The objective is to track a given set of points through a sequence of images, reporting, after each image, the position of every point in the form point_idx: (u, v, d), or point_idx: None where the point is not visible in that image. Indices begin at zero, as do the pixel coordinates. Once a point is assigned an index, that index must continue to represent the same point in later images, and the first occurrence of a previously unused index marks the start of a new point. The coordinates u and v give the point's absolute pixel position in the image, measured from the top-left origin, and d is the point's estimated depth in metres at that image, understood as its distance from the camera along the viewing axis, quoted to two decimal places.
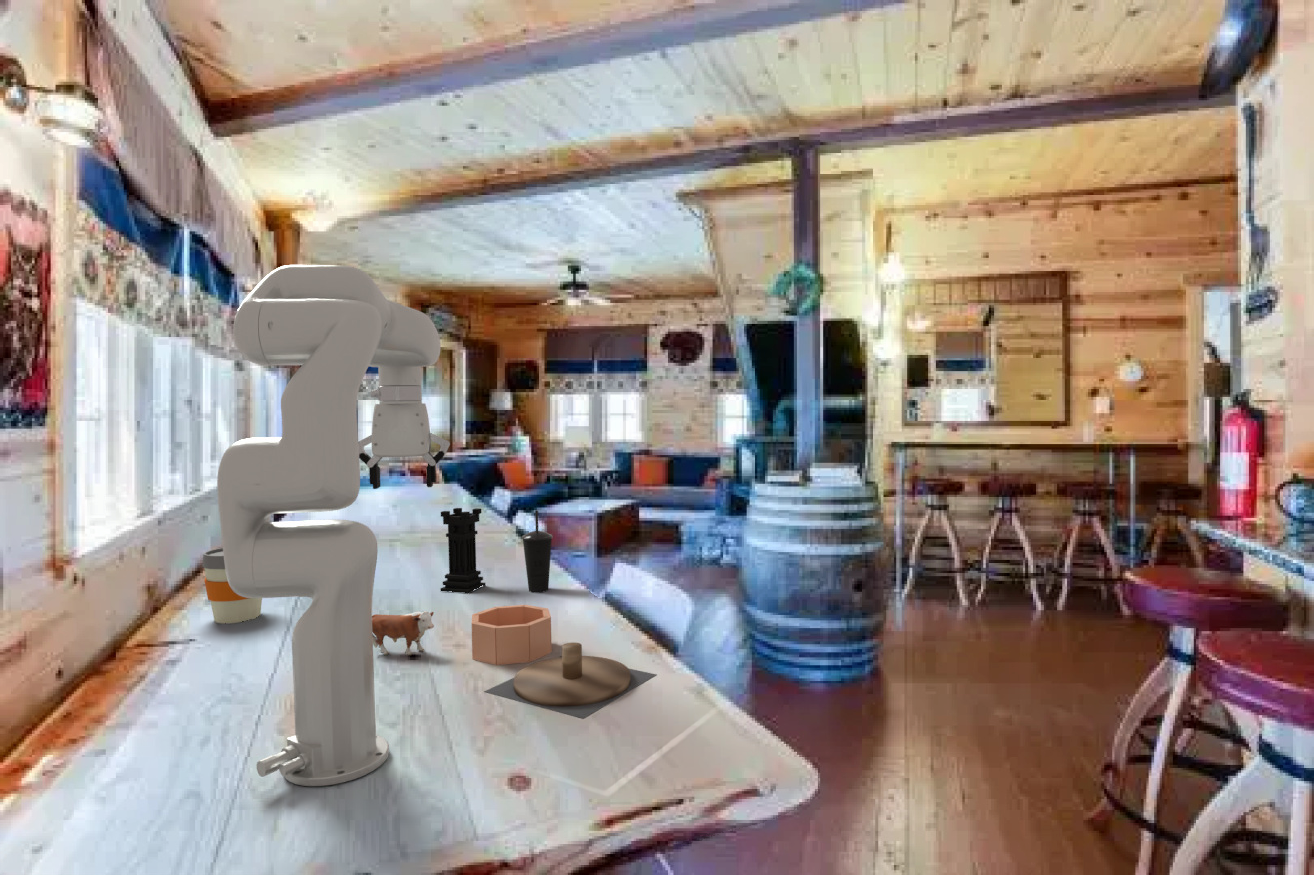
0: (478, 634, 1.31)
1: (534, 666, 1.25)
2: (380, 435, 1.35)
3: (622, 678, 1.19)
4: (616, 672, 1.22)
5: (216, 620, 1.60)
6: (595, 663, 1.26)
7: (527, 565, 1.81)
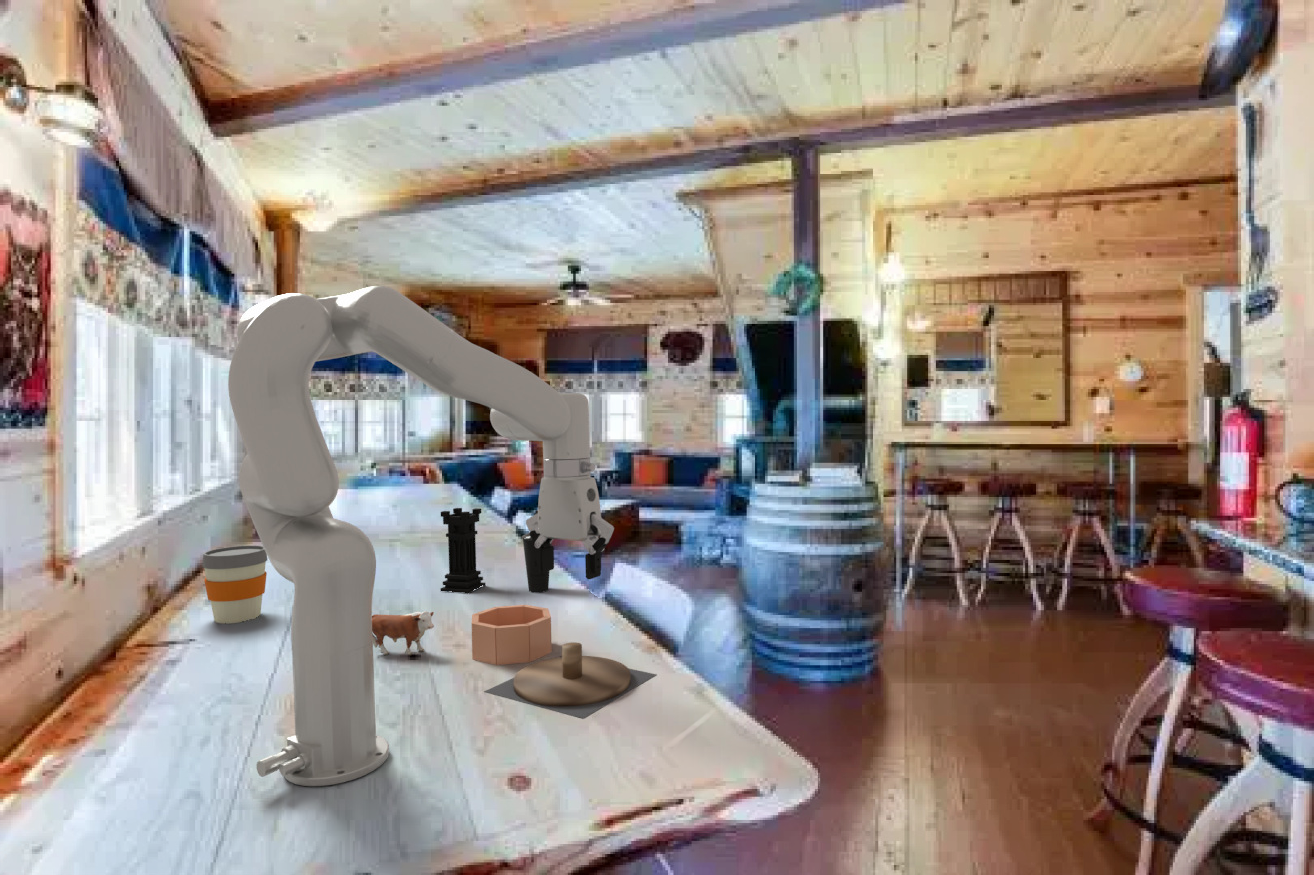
0: (478, 634, 1.31)
1: (534, 666, 1.25)
2: None
3: (622, 678, 1.19)
4: (616, 672, 1.22)
5: (216, 620, 1.60)
6: (595, 663, 1.26)
7: (527, 565, 1.81)
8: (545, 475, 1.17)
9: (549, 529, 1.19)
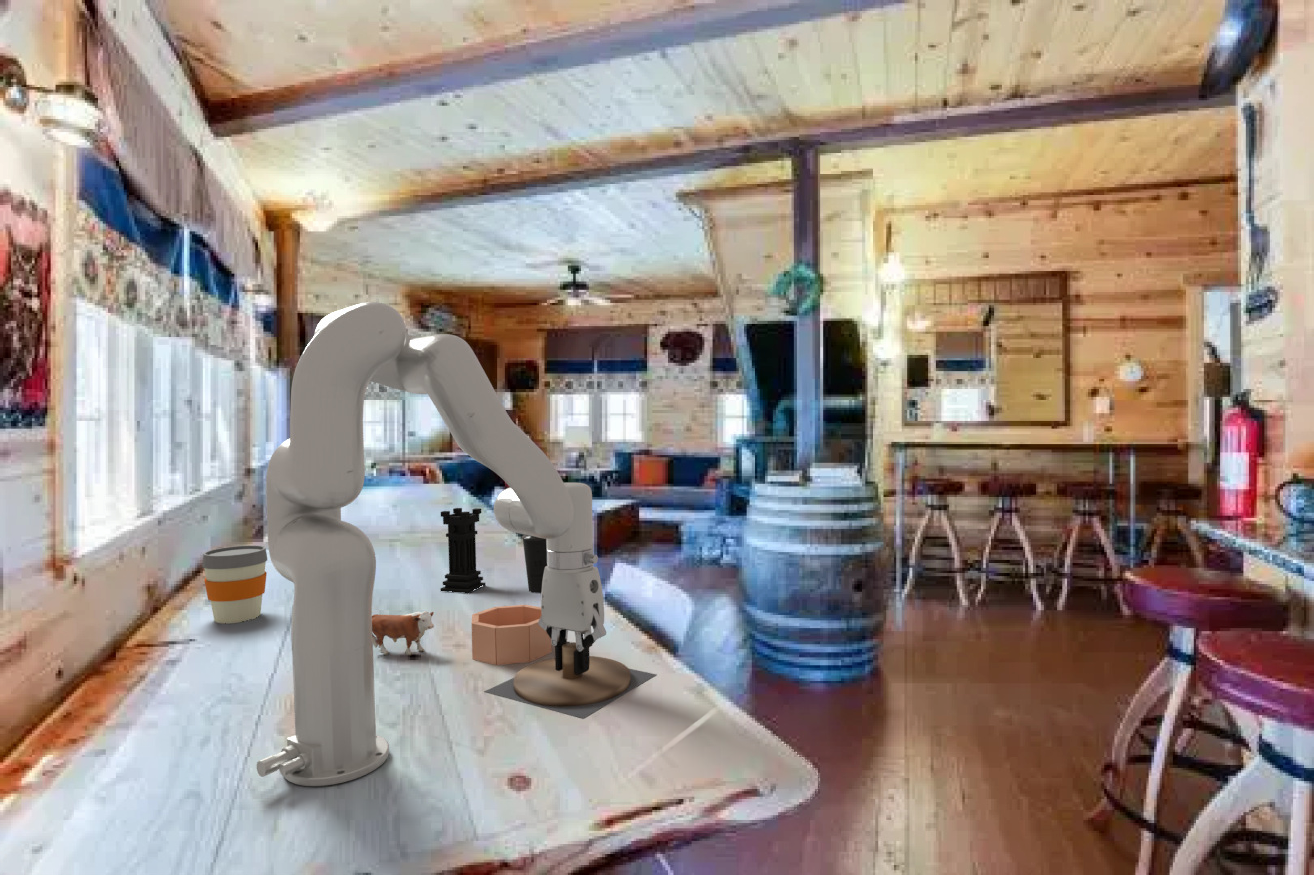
0: (478, 634, 1.31)
1: (534, 666, 1.25)
2: None
3: (622, 678, 1.19)
4: (616, 672, 1.22)
5: (216, 620, 1.60)
6: (595, 663, 1.26)
7: (527, 565, 1.81)
8: (548, 566, 1.18)
9: (551, 618, 1.19)
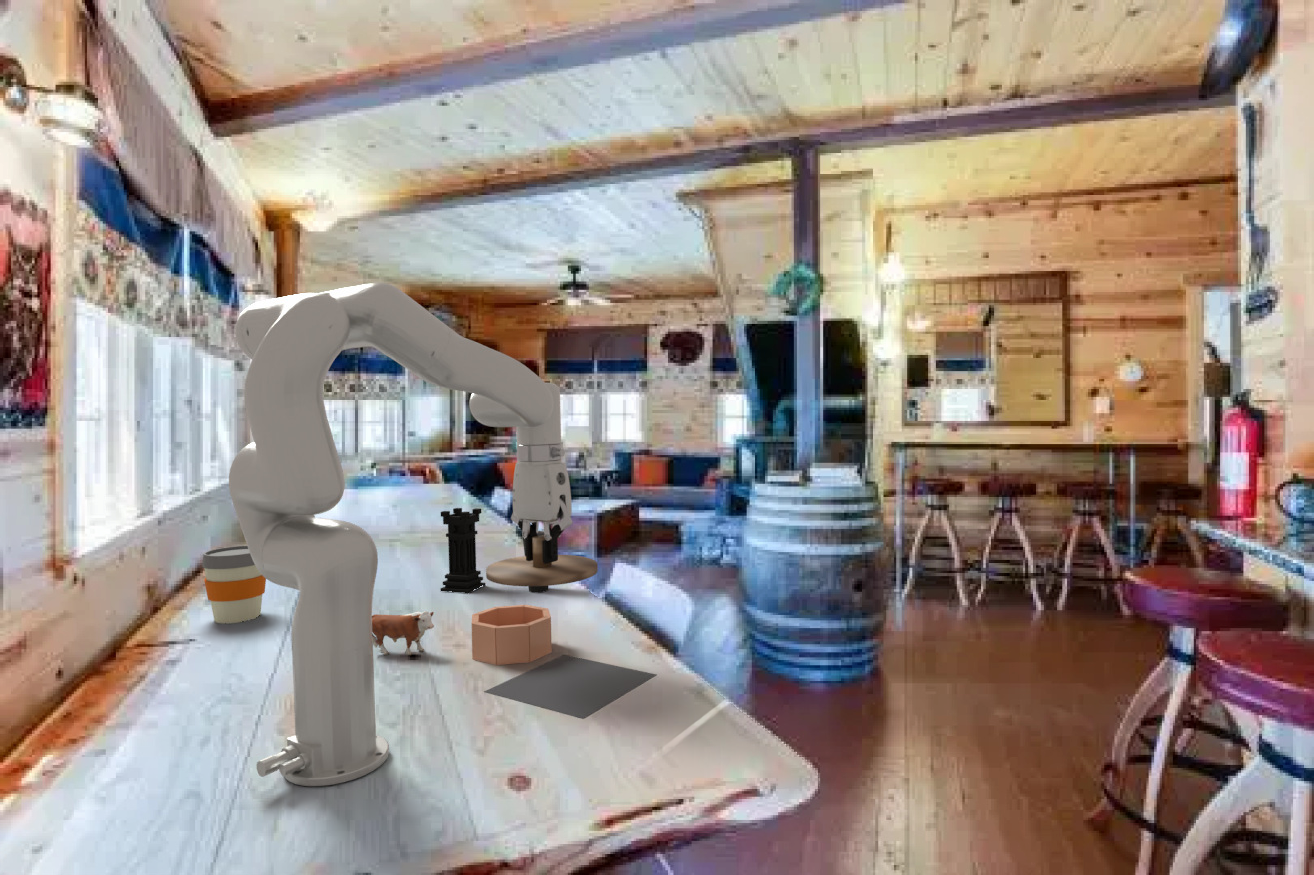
0: (478, 634, 1.31)
1: (508, 560, 1.32)
2: None
3: (589, 567, 1.25)
4: (584, 564, 1.28)
5: (216, 620, 1.60)
6: (566, 559, 1.32)
7: None
8: (518, 460, 1.25)
9: (522, 510, 1.26)
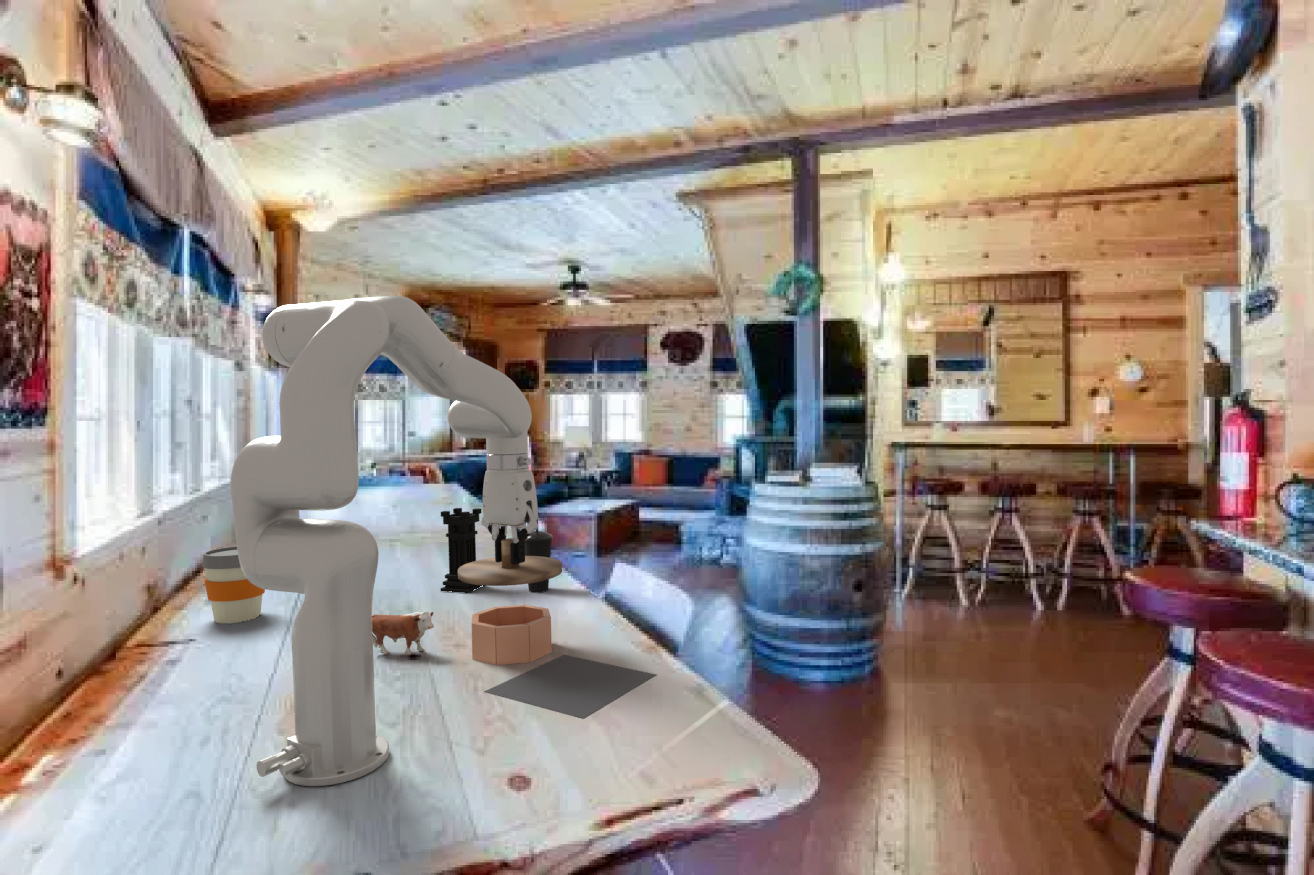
0: (478, 634, 1.31)
1: (478, 561, 1.41)
2: None
3: (554, 567, 1.35)
4: (550, 564, 1.38)
5: (216, 620, 1.60)
6: (533, 560, 1.42)
7: None
8: (487, 468, 1.34)
9: (491, 515, 1.35)
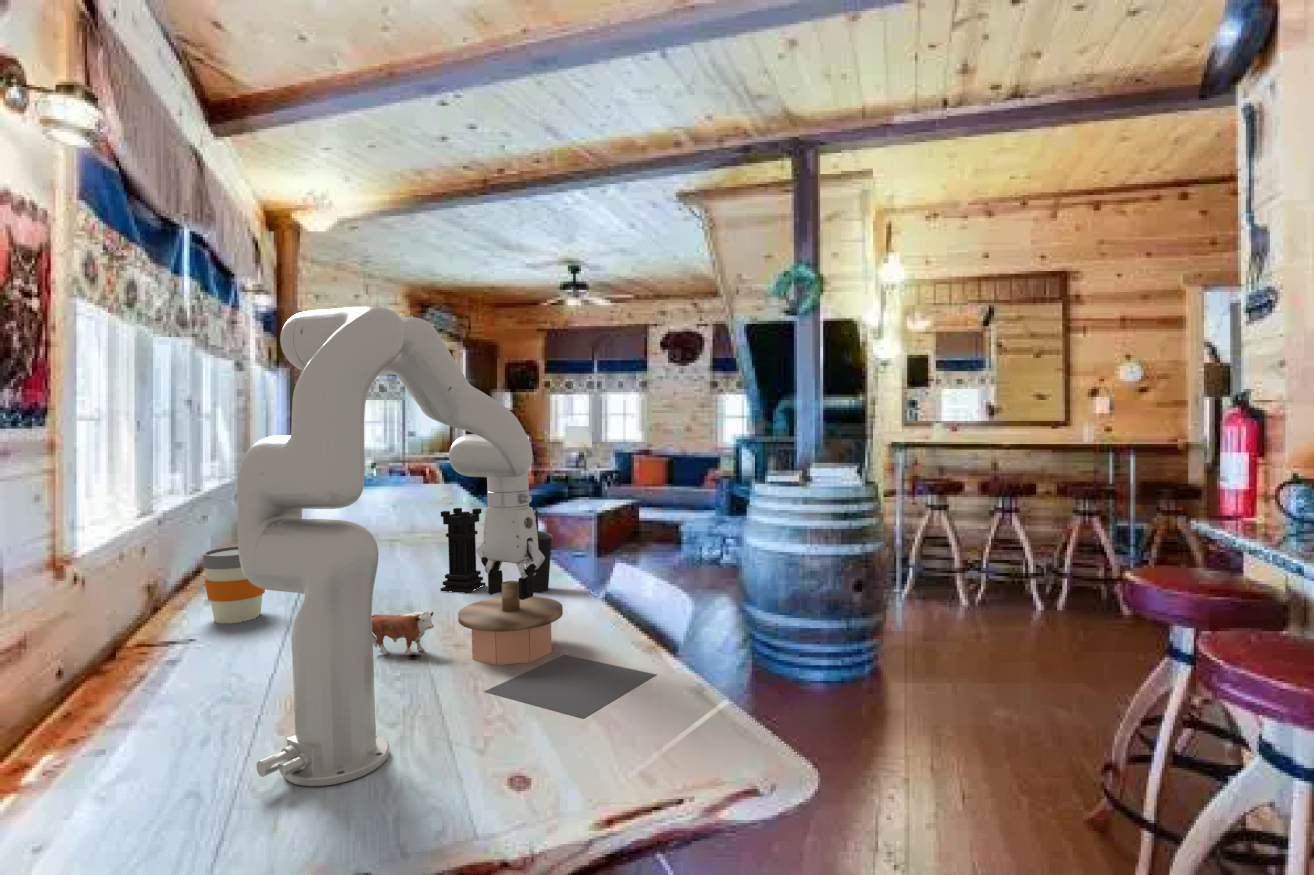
0: (478, 634, 1.31)
1: (479, 603, 1.41)
2: None
3: (554, 611, 1.35)
4: (550, 607, 1.38)
5: (216, 620, 1.60)
6: (534, 601, 1.42)
7: None
8: (488, 505, 1.34)
9: (492, 552, 1.36)
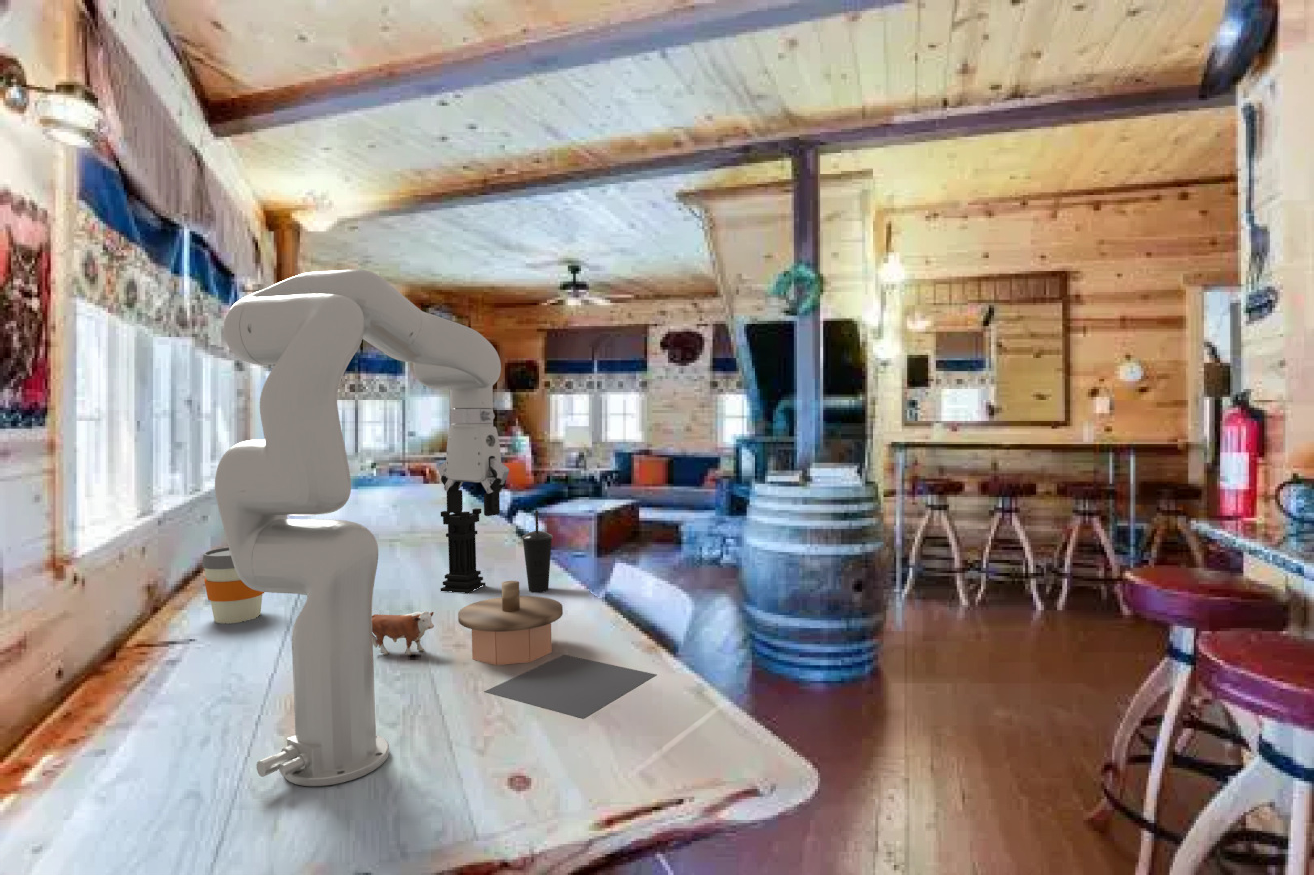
0: (478, 634, 1.31)
1: (479, 603, 1.41)
2: None
3: (554, 611, 1.35)
4: (550, 607, 1.38)
5: (216, 620, 1.60)
6: (534, 601, 1.42)
7: (527, 565, 1.81)
8: (451, 423, 1.31)
9: (454, 472, 1.33)
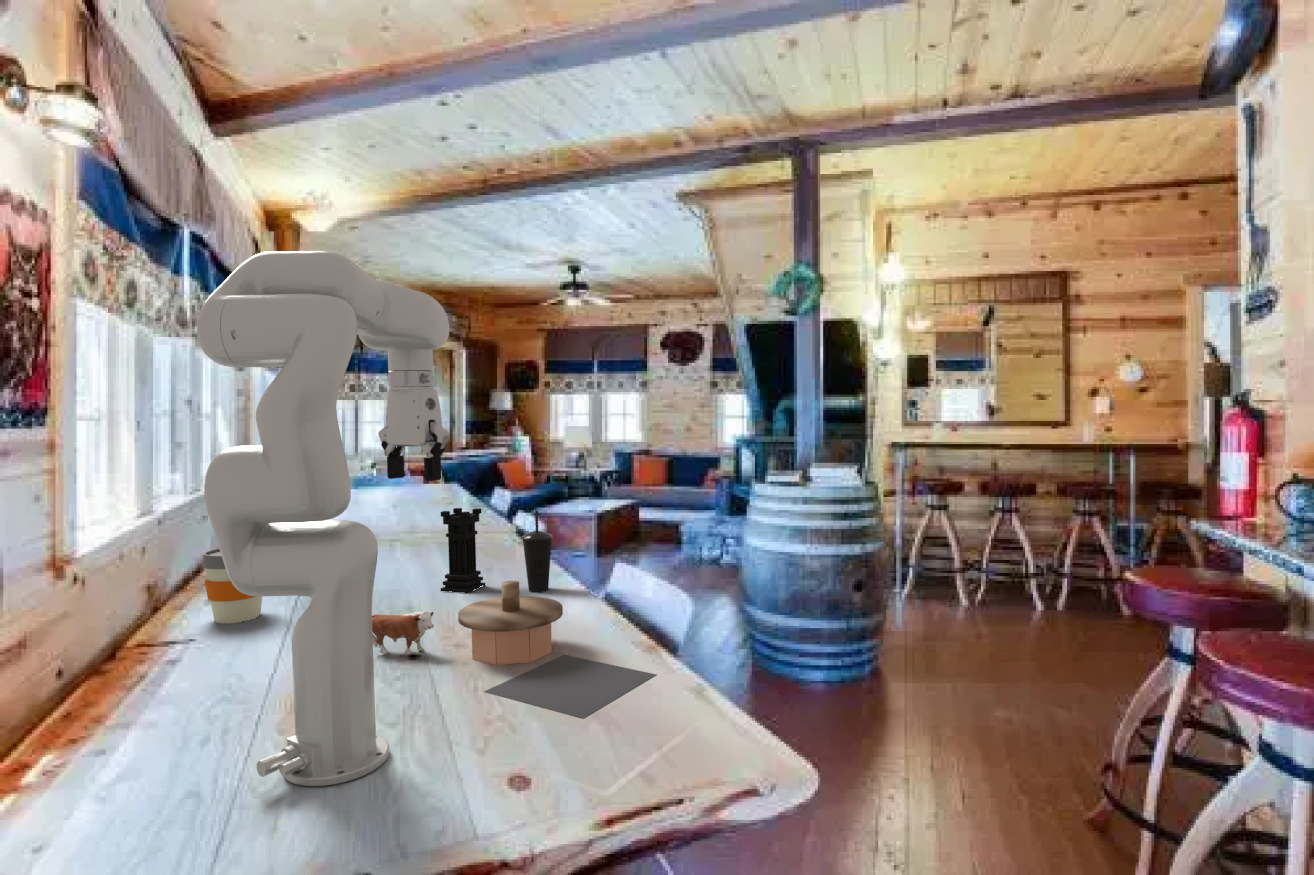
0: (478, 634, 1.31)
1: (479, 603, 1.41)
2: None
3: (554, 611, 1.35)
4: (550, 607, 1.38)
5: (216, 620, 1.60)
6: (534, 601, 1.42)
7: (527, 565, 1.81)
8: (389, 386, 1.27)
9: (394, 436, 1.29)
